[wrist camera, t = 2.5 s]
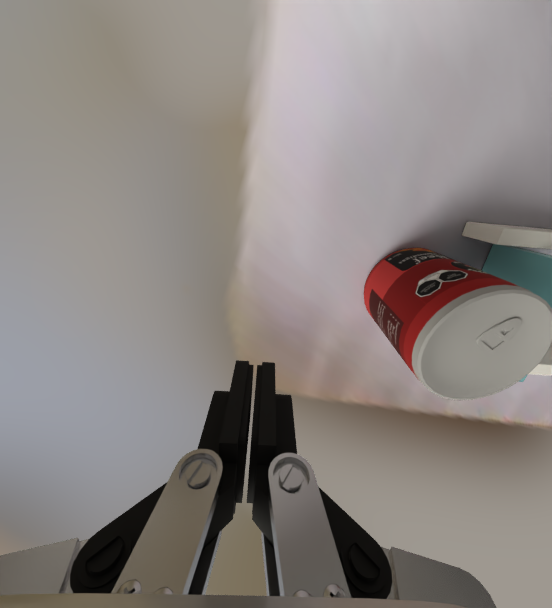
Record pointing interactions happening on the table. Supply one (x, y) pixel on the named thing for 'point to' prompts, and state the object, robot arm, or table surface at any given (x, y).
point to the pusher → (522, 269)
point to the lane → (520, 238)
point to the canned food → (457, 323)
